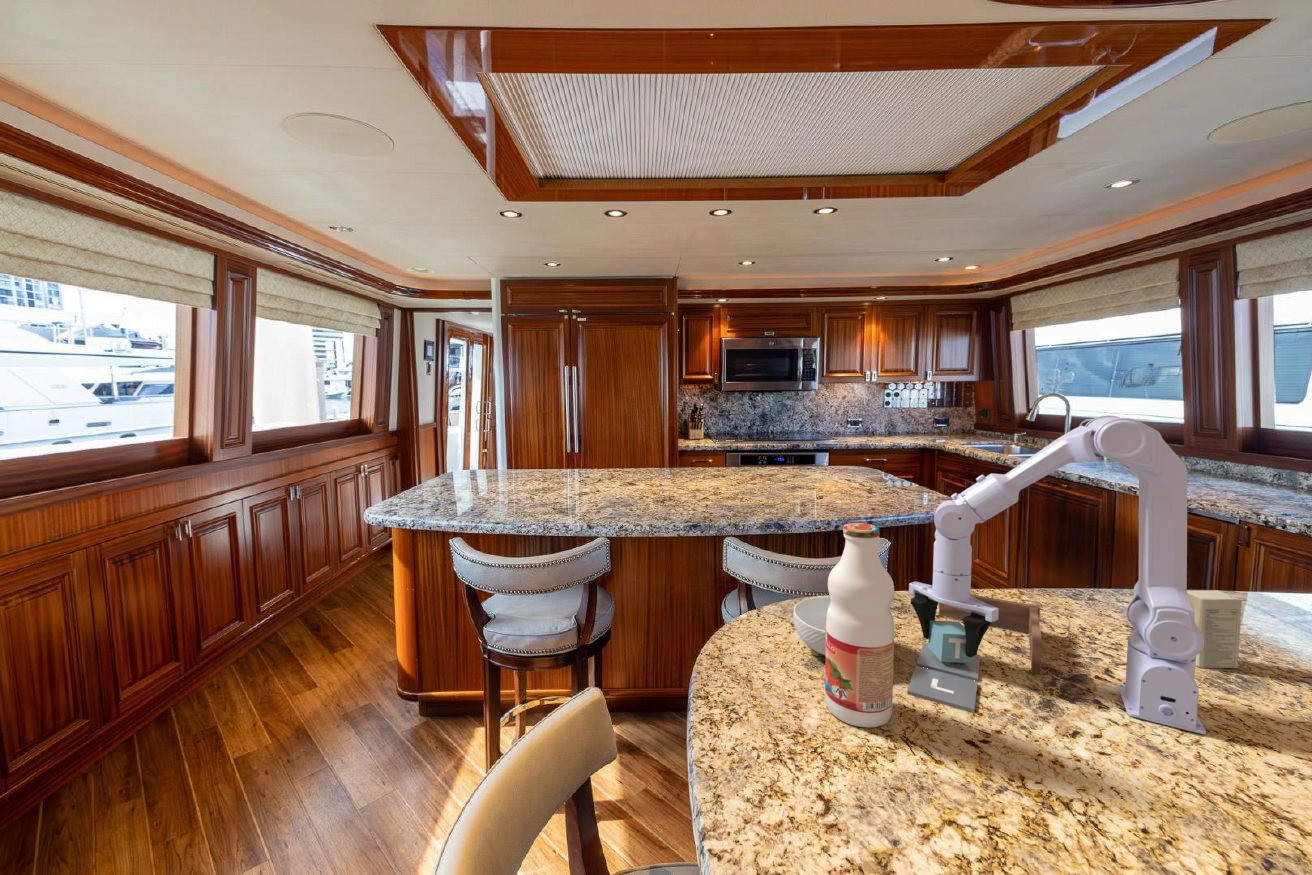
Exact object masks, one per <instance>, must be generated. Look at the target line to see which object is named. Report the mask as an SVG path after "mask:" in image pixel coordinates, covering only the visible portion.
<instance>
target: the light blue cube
mask: <svg viewBox="0 0 1312 875" xmlns="http://www.w3.org/2000/svg"><path fill="white" fill-rule="evenodd" d="M927 643H928V647H929V648H930V650H931V651H932V652H933V653H934V654H935V655H936V656H937V657H938V659H939V660H940V661H941V662H960V663H972V657H968V656H966V651H965V649H966V633H965V627H964V624H962V623H961V622H960V621H954V620H953V621H952V620H951V621H950V620H935V621H930V627H929V639H928V642H927Z"/></svg>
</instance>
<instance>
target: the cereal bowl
mask: <svg viewBox="0 0 1312 875" xmlns="http://www.w3.org/2000/svg"><path fill="white" fill-rule="evenodd" d="M830 603H831V598H830V595H829V596H815V597H810V598H805V599H803V600H800V601H799V602H798V603H797V604H796V605H795V606H794V608H793V616H792V618H793V625H794V629H795V631H796V634H797V636H798V637H799V638H800V639H801V641H802V642H803V643H804V644H805V645H806V646H807V647H809V648H811V649H812V650H813V651H815V652H817V653H819V654H821V655H824V656H826V616H827V610H828V607H829V605H830Z"/></svg>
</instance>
